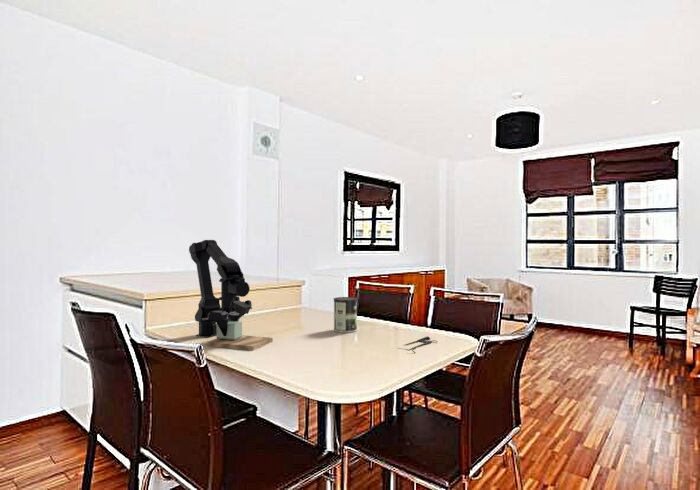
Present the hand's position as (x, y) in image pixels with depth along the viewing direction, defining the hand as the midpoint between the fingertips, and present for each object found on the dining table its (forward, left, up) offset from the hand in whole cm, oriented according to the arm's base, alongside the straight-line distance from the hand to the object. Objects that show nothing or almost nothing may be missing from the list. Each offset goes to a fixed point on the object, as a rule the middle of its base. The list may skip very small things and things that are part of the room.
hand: (229, 334), depth 166 cm
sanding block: (0, 0, -1) cm, 1 cm away
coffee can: (+35, +36, -3) cm, 50 cm away
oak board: (+5, 0, -3) cm, 6 cm away
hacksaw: (+71, +19, -4) cm, 73 cm away
